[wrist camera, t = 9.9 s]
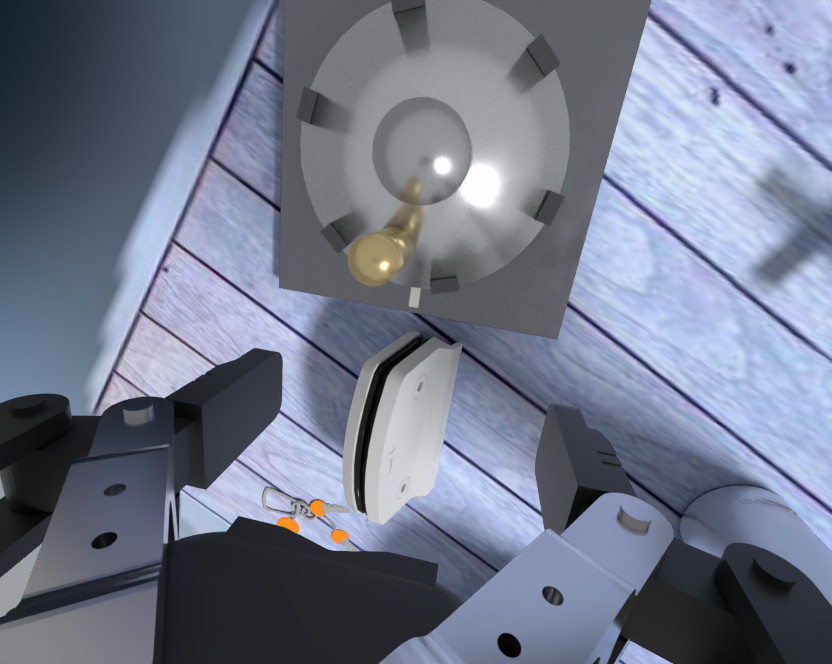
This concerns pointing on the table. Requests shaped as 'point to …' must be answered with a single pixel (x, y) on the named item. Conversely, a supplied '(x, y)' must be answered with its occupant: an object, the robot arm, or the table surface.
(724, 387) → the table surface
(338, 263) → the base plate
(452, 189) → the silver disc
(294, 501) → the key chain
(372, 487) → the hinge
